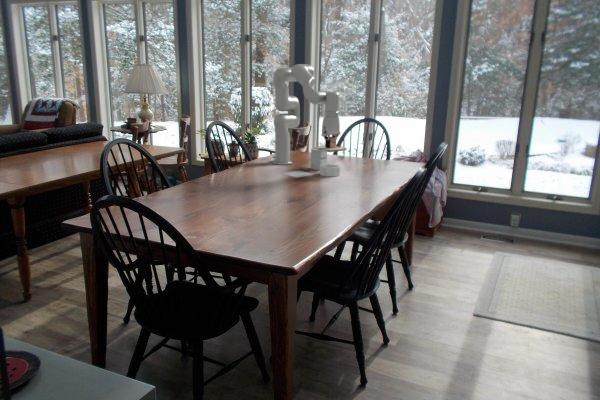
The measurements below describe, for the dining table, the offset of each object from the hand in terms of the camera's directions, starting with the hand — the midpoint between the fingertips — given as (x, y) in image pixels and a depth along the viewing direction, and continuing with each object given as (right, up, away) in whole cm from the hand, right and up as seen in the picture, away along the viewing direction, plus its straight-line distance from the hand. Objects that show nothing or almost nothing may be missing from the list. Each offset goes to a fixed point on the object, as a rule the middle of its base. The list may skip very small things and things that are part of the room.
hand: (330, 146), depth 285 cm
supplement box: (-6, -12, +20) cm, 24 cm away
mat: (-19, -16, +4) cm, 25 cm away
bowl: (0, -16, +5) cm, 17 cm away
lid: (0, -2, 0) cm, 2 cm away
